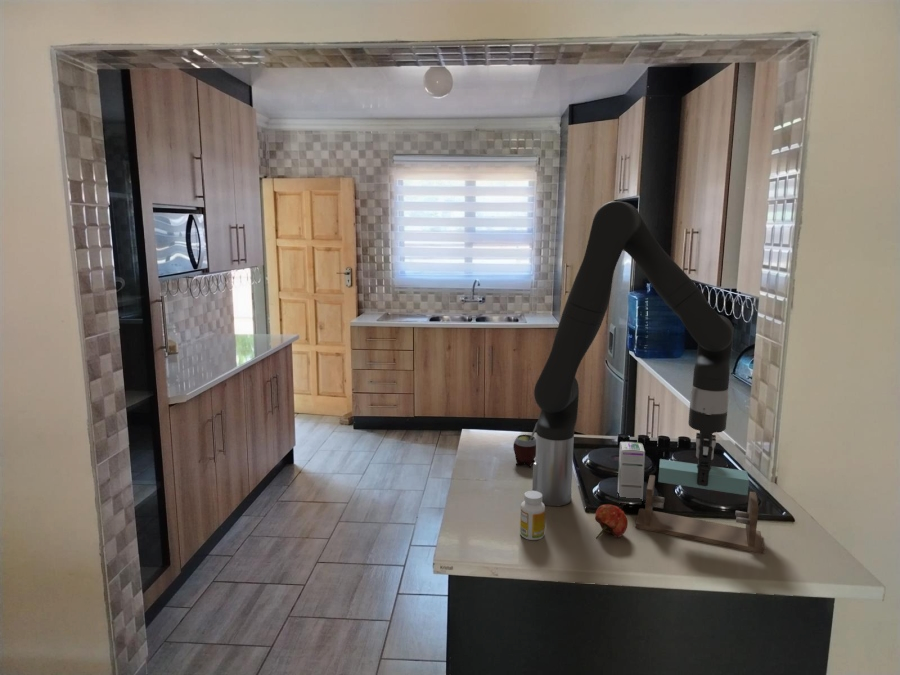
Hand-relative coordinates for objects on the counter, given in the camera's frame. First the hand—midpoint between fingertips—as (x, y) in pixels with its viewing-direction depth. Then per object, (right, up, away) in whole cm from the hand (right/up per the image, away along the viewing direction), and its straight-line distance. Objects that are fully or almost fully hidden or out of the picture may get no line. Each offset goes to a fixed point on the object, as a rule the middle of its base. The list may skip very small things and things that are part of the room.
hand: (702, 479), depth 127 cm
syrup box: (-11, -10, +17) cm, 23 cm away
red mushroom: (-20, -13, +1) cm, 24 cm away
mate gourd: (-34, -5, +39) cm, 52 cm away
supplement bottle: (-38, -13, +1) cm, 40 cm away
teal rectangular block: (0, -1, 0) cm, 1 cm away
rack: (0, -12, +3) cm, 13 cm away
